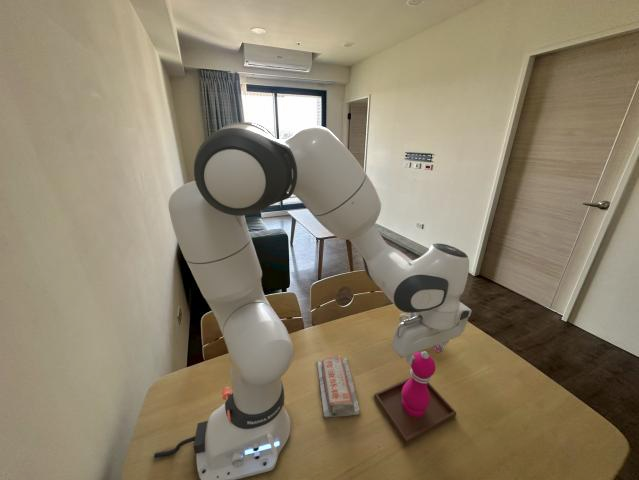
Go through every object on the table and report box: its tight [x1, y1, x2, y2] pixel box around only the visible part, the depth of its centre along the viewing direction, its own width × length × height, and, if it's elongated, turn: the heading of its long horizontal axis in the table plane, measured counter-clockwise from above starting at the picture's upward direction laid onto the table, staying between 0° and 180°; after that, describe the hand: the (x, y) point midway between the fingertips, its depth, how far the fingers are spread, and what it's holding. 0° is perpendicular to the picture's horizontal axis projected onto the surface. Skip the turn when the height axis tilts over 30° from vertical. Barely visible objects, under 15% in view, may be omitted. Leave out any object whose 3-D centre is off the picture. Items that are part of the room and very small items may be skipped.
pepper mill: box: [402, 350, 437, 417], centre depth 66 cm, size 7×7×20 cm
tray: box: [373, 377, 457, 446], centre depth 70 cm, size 17×13×2 cm
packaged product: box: [317, 355, 361, 419], centre depth 75 cm, size 18×5×10 cm
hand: (424, 356), depth 63 cm, fingers open, 8 cm apart
